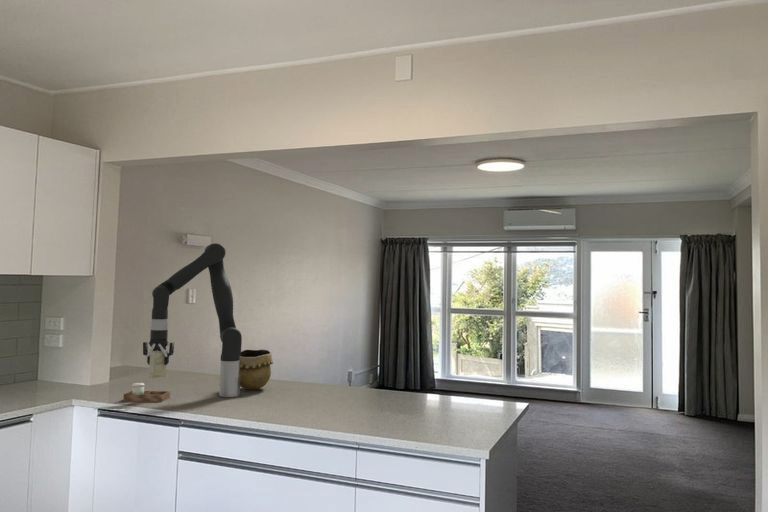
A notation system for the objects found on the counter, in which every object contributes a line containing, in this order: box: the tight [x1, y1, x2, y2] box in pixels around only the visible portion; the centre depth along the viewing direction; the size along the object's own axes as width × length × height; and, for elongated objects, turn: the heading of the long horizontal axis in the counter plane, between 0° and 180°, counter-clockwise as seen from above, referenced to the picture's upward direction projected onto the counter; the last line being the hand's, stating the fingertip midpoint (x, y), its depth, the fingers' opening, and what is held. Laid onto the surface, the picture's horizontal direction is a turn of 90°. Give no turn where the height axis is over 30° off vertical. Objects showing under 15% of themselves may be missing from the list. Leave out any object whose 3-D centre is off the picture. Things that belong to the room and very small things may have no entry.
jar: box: [131, 382, 145, 394], centre depth 266 cm, size 5×5×7 cm
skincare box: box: [148, 350, 167, 379], centre depth 267 cm, size 6×4×12 cm
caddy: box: [122, 390, 171, 403], centre depth 266 cm, size 18×9×4 cm, turn 90°
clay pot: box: [239, 348, 274, 391], centre depth 299 cm, size 21×21×20 cm
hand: (157, 364), depth 267 cm, fingers closed on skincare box, 7 cm apart
